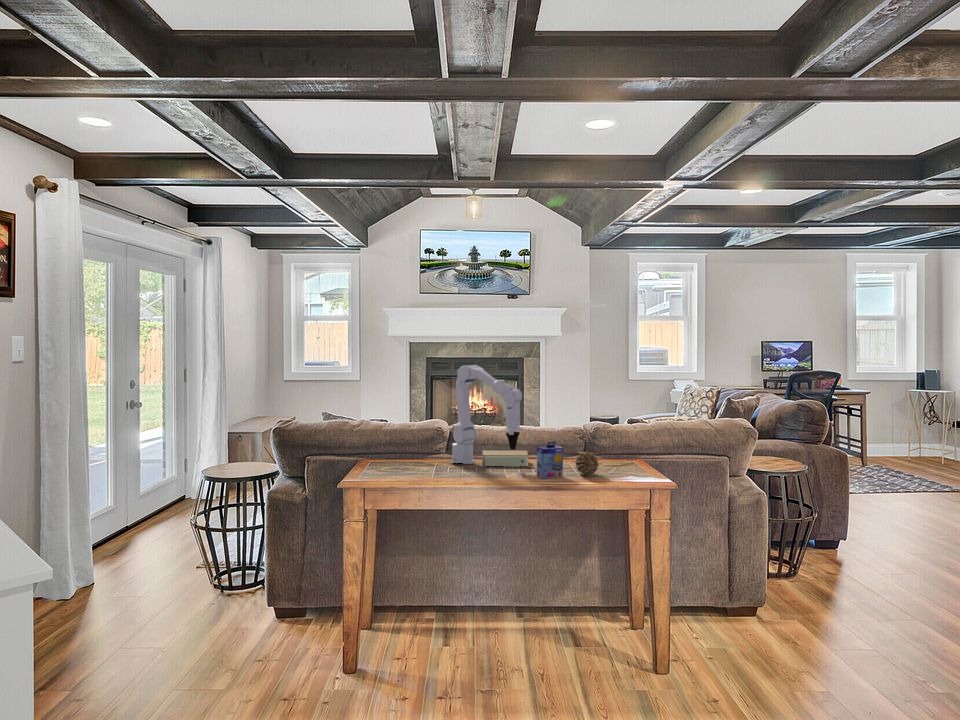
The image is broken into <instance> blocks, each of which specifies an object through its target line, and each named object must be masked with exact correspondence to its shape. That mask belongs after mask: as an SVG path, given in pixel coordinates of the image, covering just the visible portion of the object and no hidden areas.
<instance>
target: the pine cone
mask: <svg viewBox="0 0 960 720" xmlns="http://www.w3.org/2000/svg"><path fill="white" fill-rule="evenodd" d="M575 459H576V460H575V461H574V465H575V466H574V467H575V468H576V470H577V472H579V473H581V475H584V476H585V474H586V475H587V476H590V475H592V474H593V475H594V474H595V473H596V472H597V470H599V468H598V467H599V466H600V463H599V458H597V455H596V454H594V453H593V452H588V451H584V452H583V451H581V453H579V456H577V457H576V458H575Z"/></svg>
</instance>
